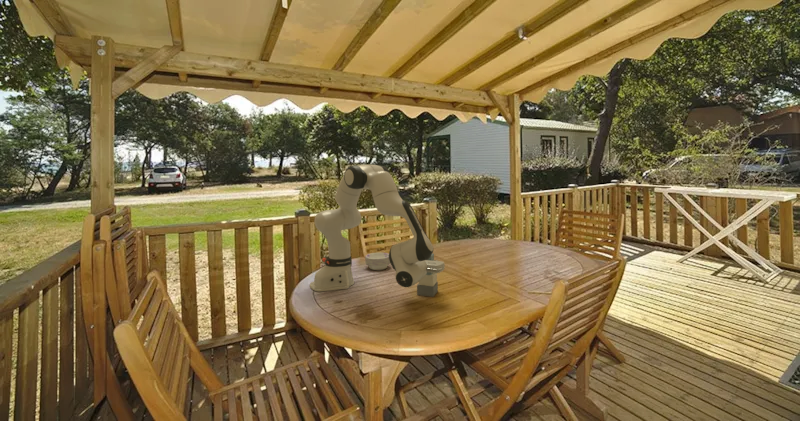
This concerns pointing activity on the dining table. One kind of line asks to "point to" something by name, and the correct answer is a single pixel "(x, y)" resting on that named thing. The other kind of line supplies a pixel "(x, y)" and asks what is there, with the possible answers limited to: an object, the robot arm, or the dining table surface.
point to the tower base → (427, 290)
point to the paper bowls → (377, 261)
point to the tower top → (428, 280)
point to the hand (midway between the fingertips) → (426, 260)
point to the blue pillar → (431, 260)
